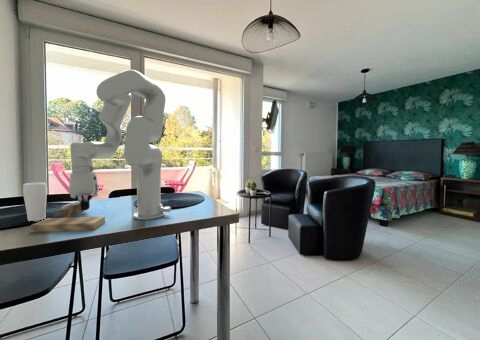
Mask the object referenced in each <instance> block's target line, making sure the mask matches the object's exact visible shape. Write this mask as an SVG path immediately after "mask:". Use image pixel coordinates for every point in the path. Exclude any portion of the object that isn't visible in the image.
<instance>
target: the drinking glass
mask: <svg viewBox="0 0 480 340" xmlns="http://www.w3.org/2000/svg"><path fill="white" fill-rule="evenodd" d="M47 187H48V186H47V182H45V181H44V182H43V181H42V182H40V181H38V182H28V183H23V185H22V192H23V199H24V204H25V211H26V216H27V221H28V222H30V221H34V222H40V220H41V221H42V220H43V219H47V218H46V217H47V213H46V212H47V211H46V209H47V197H48V196H47V194H48V193H47V191H48V188H47Z"/></svg>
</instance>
